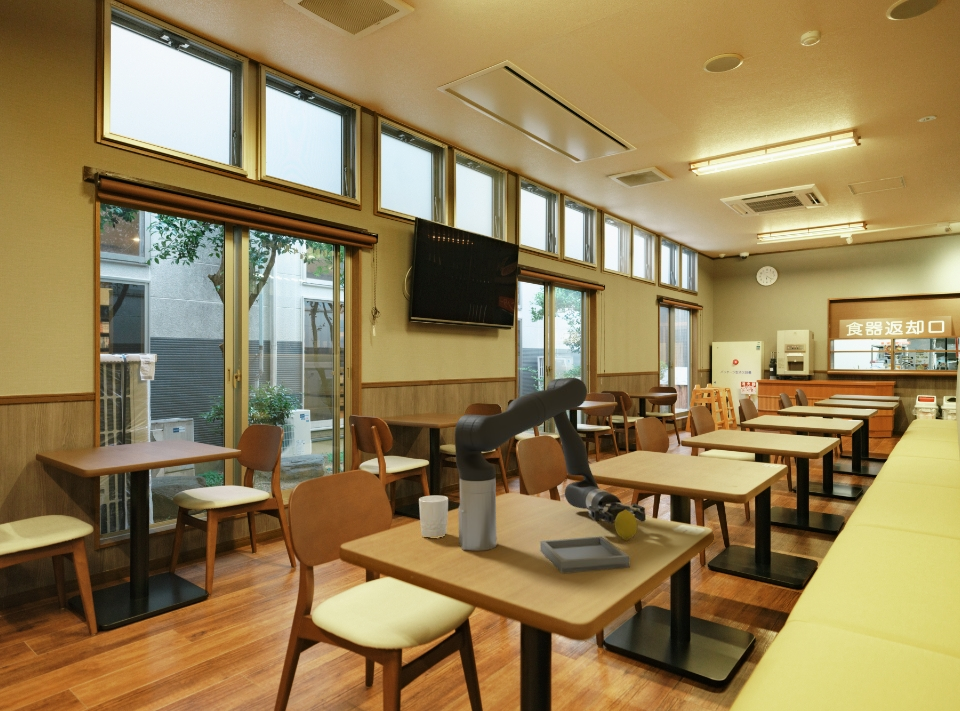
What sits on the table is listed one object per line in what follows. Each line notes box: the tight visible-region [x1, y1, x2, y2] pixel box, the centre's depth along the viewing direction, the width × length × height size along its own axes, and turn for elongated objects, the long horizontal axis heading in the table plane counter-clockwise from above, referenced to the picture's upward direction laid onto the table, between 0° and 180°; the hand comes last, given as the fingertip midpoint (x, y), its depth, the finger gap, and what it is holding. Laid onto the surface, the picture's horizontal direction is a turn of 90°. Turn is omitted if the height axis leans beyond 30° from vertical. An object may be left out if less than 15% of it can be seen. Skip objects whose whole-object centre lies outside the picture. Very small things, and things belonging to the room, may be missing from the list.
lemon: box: [614, 510, 638, 541], centre depth 154 cm, size 6×6×8 cm
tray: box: [539, 535, 631, 574], centre depth 140 cm, size 16×16×2 cm
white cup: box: [418, 494, 449, 537], centre depth 161 cm, size 8×8×10 cm
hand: (628, 518), depth 152 cm, fingers open, 8 cm apart
